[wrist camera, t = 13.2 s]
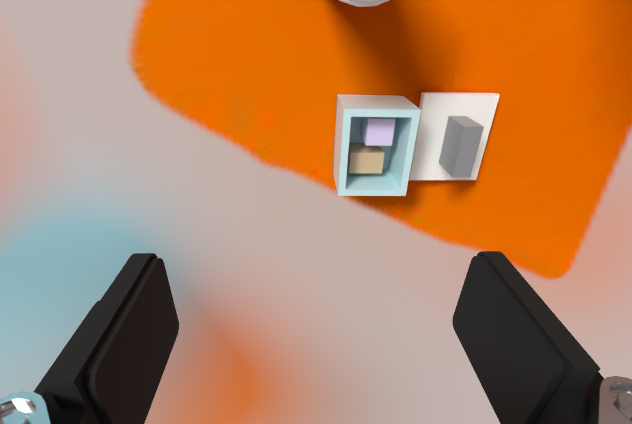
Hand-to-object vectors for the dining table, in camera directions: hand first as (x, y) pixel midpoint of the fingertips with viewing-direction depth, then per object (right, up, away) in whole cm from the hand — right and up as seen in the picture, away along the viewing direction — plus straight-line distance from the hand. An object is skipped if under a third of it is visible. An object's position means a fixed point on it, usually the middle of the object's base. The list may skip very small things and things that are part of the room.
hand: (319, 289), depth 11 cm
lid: (+17, +12, +34) cm, 40 cm away
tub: (+6, +12, +33) cm, 36 cm away
